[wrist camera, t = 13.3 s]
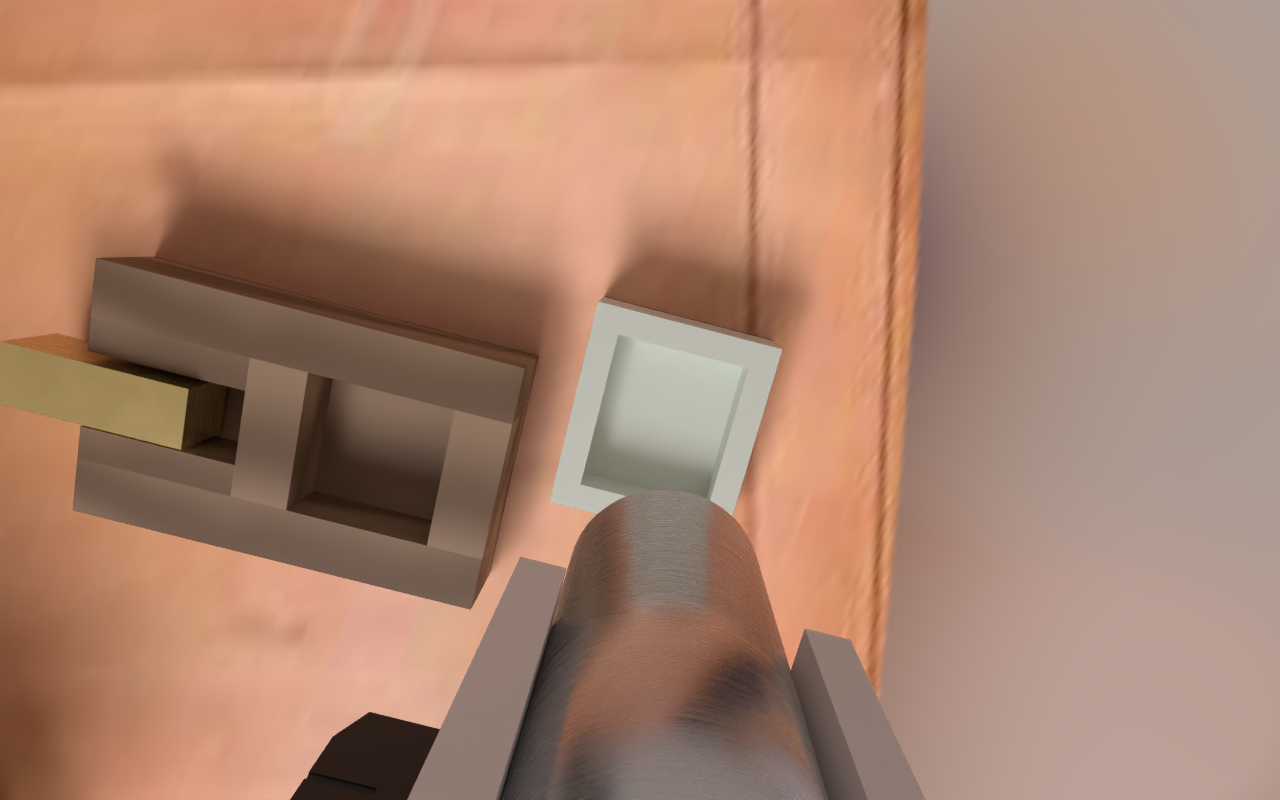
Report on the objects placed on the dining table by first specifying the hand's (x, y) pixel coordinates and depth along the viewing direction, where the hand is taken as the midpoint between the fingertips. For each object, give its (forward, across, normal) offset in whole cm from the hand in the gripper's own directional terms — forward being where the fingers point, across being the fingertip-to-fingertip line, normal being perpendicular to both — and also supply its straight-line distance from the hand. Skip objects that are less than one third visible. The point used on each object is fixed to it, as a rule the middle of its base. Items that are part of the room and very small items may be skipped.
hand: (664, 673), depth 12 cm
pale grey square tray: (+19, 0, 0) cm, 19 cm away
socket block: (+19, -14, -4) cm, 23 cm away
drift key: (+19, -21, -4) cm, 28 cm away
